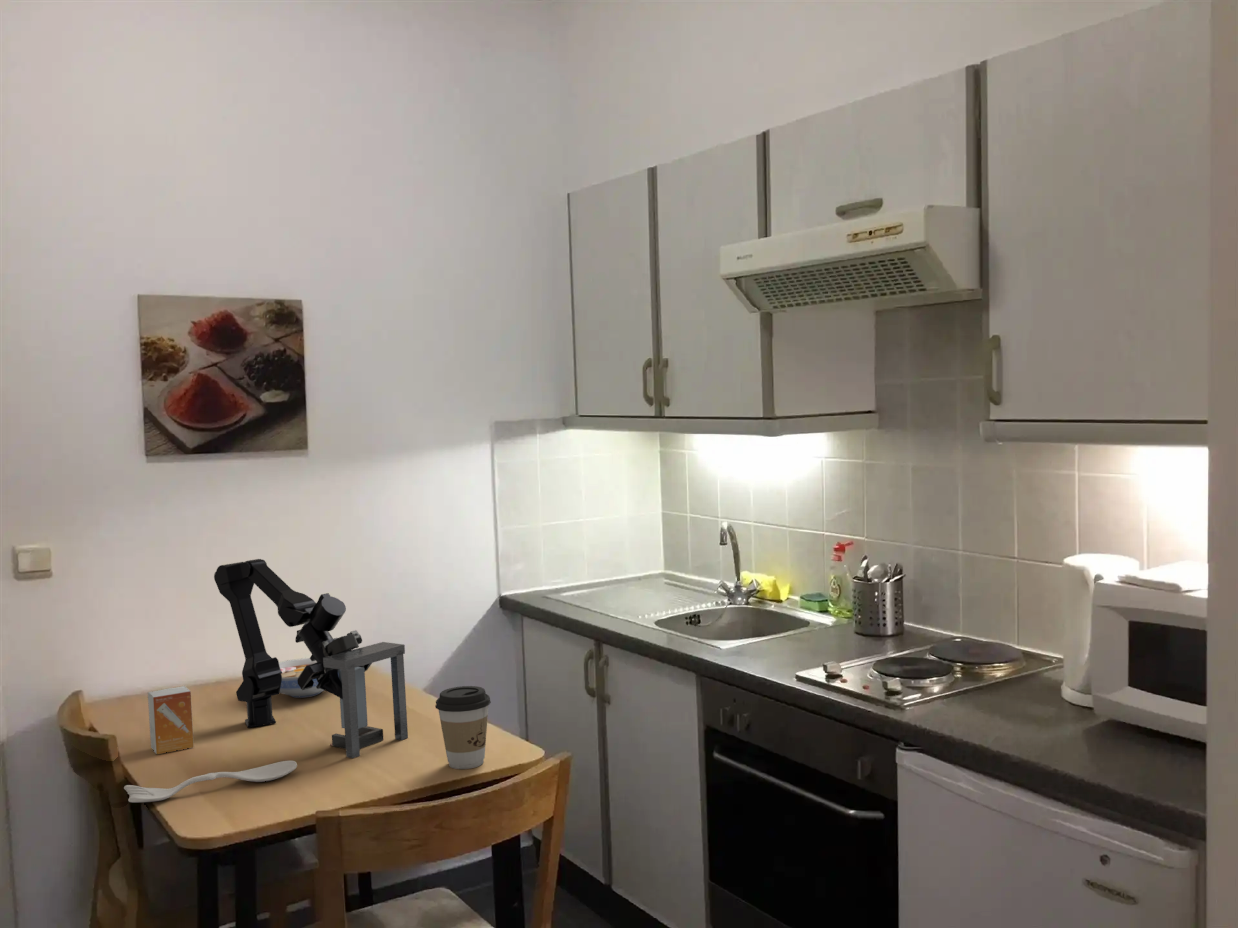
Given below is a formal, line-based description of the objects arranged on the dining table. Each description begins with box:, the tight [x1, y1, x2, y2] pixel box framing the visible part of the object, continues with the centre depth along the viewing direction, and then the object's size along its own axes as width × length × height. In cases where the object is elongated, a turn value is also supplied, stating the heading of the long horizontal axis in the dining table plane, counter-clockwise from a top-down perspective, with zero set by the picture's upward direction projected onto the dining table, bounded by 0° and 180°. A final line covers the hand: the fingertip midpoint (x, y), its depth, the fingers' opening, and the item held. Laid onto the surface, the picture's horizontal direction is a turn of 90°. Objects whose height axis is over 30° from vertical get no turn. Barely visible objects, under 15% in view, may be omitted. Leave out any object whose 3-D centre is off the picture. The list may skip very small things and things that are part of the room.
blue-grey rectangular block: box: [338, 667, 369, 729], centre depth 243 cm, size 4×4×13 cm
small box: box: [147, 685, 195, 755], centre depth 245 cm, size 8×6×13 cm
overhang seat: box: [323, 641, 409, 759], centre depth 242 cm, size 12×17×21 cm
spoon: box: [123, 760, 298, 803], centre depth 217 cm, size 9×32×4 cm, turn 120°
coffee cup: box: [435, 685, 492, 770], centre depth 225 cm, size 11×11×15 cm
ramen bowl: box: [279, 657, 339, 699], centre depth 289 cm, size 25×23×8 cm
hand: (357, 698), depth 242 cm, fingers closed on blue-grey rectangular block, 4 cm apart
